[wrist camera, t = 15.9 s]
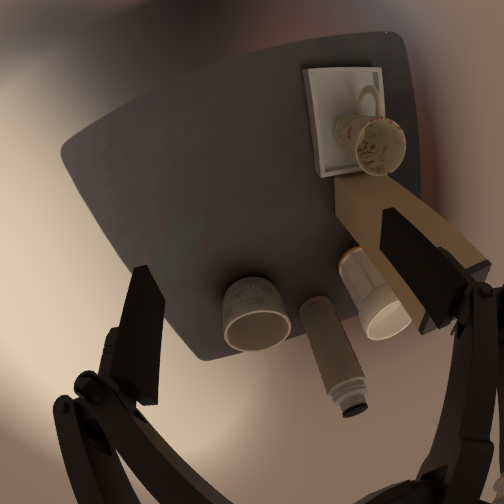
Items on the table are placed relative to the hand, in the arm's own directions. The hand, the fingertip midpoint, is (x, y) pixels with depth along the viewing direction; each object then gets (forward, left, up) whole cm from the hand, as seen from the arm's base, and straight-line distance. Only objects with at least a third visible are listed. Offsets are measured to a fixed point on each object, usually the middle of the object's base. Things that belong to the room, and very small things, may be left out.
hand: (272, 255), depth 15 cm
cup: (+31, +21, -31) cm, 49 cm away
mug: (0, +19, -30) cm, 35 cm away
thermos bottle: (+42, +11, -31) cm, 53 cm away
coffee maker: (+5, +19, -31) cm, 36 cm away
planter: (+32, -3, -31) cm, 45 cm away
